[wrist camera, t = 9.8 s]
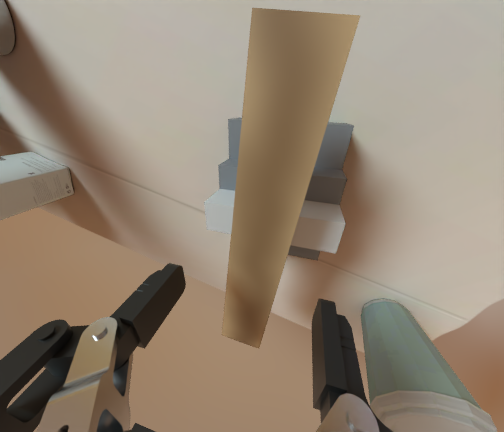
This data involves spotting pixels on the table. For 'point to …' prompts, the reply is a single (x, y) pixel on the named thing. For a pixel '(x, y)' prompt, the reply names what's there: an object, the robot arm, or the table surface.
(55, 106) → the table surface
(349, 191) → the table surface
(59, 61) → the table surface
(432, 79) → the table surface
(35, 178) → the skincare box
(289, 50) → the oak beam
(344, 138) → the ridge stand
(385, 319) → the disposable coffee cup
